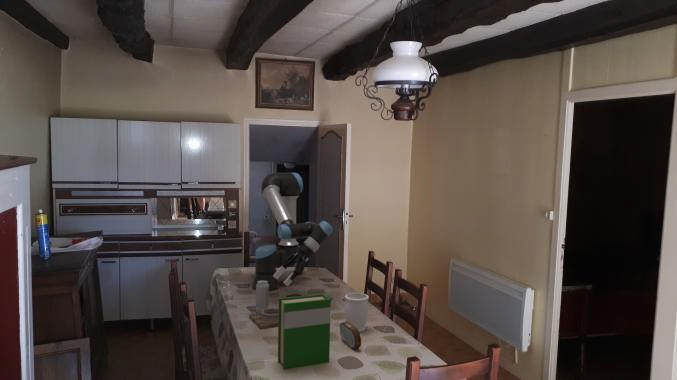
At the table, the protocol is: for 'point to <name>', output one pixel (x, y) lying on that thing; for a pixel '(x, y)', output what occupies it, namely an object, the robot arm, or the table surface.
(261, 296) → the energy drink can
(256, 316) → the mount
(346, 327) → the tin
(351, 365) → the table surface
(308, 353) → the hardback book
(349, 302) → the jar
